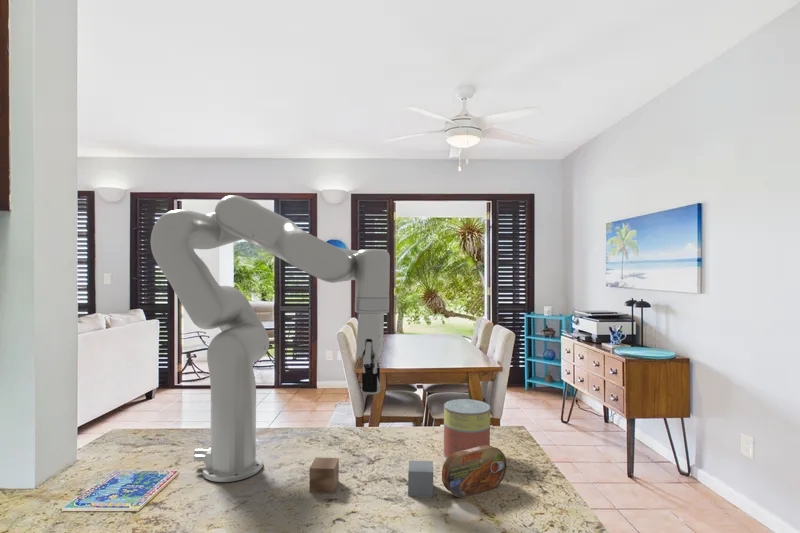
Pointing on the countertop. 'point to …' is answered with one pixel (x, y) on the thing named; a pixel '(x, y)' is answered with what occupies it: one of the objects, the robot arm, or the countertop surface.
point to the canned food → (465, 425)
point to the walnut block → (324, 475)
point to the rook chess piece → (377, 381)
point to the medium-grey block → (420, 478)
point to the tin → (474, 470)
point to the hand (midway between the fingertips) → (370, 387)
